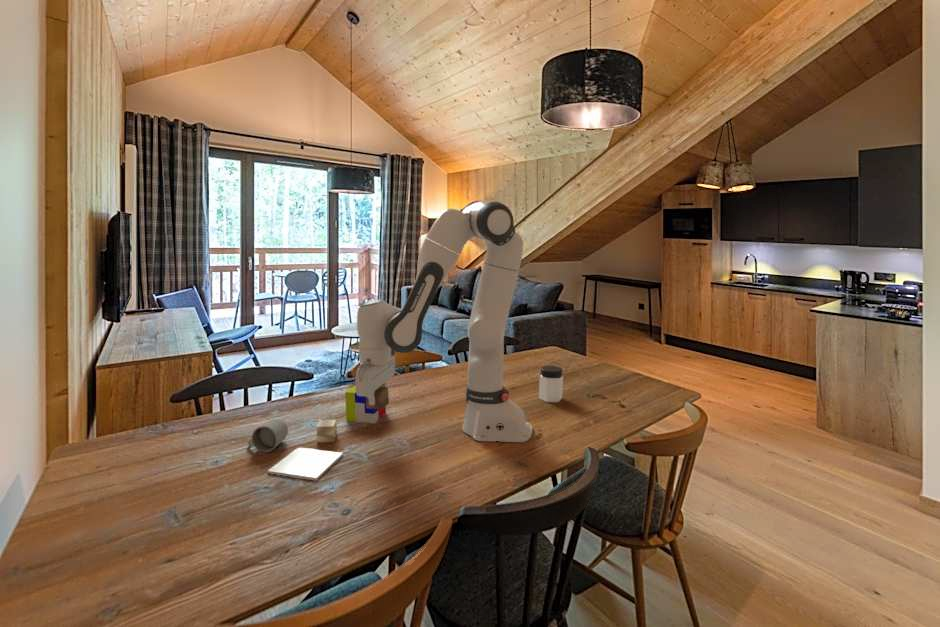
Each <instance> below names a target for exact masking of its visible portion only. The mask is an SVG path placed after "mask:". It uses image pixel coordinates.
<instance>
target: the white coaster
mask: <svg viewBox="0 0 940 627" xmlns="http://www.w3.org/2000/svg"><path fill="white" fill-rule="evenodd" d="M343 456H344V453H343V452H340V451H338V452H337V451H331V450H330V451H329V450H324V449H323V450H322V449H315V448H308V447H299V446H298V447H296V448H295V449H294V450H293V451H292V452H290V453H289V454H287V455H286V456H285V457H283V459H281V460H280V461H278V462H277V463H275V464H274V465H273V466H272V467H270V469H268V470H267V474H268V473H270V474H269V475H273V474H276V475H275V476H280V475H282V476H281V477H287V476H289V478H295V479H300V480H301V479H302V480H307V481H308V480H309V481H314V482H315V481H318V480H319V479H320V478H321V477H322V476H323V475H324V474H325V473H326V472H328V471H329V469H331V467H333V466H334V465H335V464H336V463H337V462H338V461H339V460H340V459H341V458H343Z"/></svg>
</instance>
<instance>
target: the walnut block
mask: <svg viewBox="0 0 940 627" xmlns="http://www.w3.org/2000/svg"><path fill="white" fill-rule="evenodd" d="M374 396H375V398H376V401H377V403H376V404H375V405H369V399H368V397H367V396H366V408H368V409H383V408H384V407H385V406H386V407H387V405H389V404H390V401H389V388H388V387H387V386H386V387H379V388H378V389H377V390H375V394H374Z"/></svg>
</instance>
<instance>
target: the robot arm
mask: <svg viewBox="0 0 940 627" xmlns="http://www.w3.org/2000/svg"><path fill="white" fill-rule="evenodd" d="M514 223H515V221H514V217H513V213H512V211H511V210H510V208H509V207H508V206H507V205H506V204H504V203H502V202H499V201H494V200H489V199H485V200H475V201H472V202H470V203H468V204H467V205H466V206H464V207H463V208H461V209H460V210H458V209H456V208H447V209H444V210H443V211H441V212H440V214H439V215H438V217H436V219H435V221H434V222H433V224H432V225H431V227H430V228H429V230H428V232H427V234H426V236H425V238H424V240H423V243H422V244H421V248H420V251H419V254H418V259H417V263H416V264H417V265H416V266H417V268H416V269H417V270H416V276H415V281H414V283H413V286H412V288H411V290H410V293H409V295H408V297H407V298H406V301H405V303H404V305H403V308H400V307H397V306H394V305H392V304H390V303H388V302H386V301H385V300H384V299H374V300H368V301H366V302H364V303H362V304H361V305H359V307H358V309H357V315H356V328H357V334H358V337H359V342H358V356H359V357H358V358H359V363H360V364H359V368H357V370H356V373H355V380H354V381H355V383H354V386H355V387H356V394H357V395H358V396H367V397H368V399H369V405H375V404H376V403H377V401H376V398H375V396H374V394H375V390H377V389H378V388H379V387H387V385H388V381H389V380H391V379H392V378H393V377H394V376H395V372H396V358H395V355H396V353H401V354H403V353H404V354H405V353H410V352H412V351H414V350H416V349H417V348H418V346H419V345H420V344H421V342H422V338H423V322H424V319H425V317H426V315H427V313H428V311H429V308H430V306H431V304H432V302H433V300H434V297H435V295H436V294H437V291H438V289H439V288H440V287H441V285H442V284H443V282H444V281H445V280H446V278H447V277H448V275H449V274H450V272H451V271H452V270H453V268H454V267H455V265H456V263H457V261H458V260H459V258H460V256H461V254H462V251H463V250H464V247H465V246H466V244H467V243H468V241H470V240H471V239H472V238H478V239H482V240H484V241H485V245H486V249H485V250H486V251H485V255H484V259H483V264H482V267H481V271H480V277H479V281H478V284H477V290H476V294H475V297H474V300H473V305H472V309H471V312H470V317H469V321H468V325H467V329H466V330H467V331H466V332H467V336H468V341H469V343H468V344H469V346H468V347H469V348H468V362H467V366H468V367H467V386H466V388H465V401H466V410H465V414H464V420H463V424H462V426H461V429H462V431H463V433H465V434H467V435H468V436H470V437H471V438H472V439H473V440H475V441H476V440H477V442H496V441H499V442H501V443H502V442H504V443H505V442H506V443H525V442H527V441H529V440H530V439H531V438H532V436H533V431H534V430H533V425H532V424H531V423H530V422H528V421H527V420H526V415H525V411H524V410H523V409H522V407H520V406H518V405H517V404H516V403H515V402H514V401H512V400H511V399H510V396H509V395H510V391H509V390H510V389H509V387H507V388H506V387H504V386H503V383H504V351H505V350H504V348H505V346H504V344H505V332H506V328H507V327H506V326H507V324H508V319H509V315H510V310H511V307H512V302H513V297H514V292H515V289H516V285H517V280H518V277H519V273H520V269H521V264H522V258H523V247H524V240H523V238H522V236H521V235H520V234H519V233H518V232H517V231H516V229H515V224H514ZM499 442H498V443H499Z"/></svg>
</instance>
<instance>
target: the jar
mask: <svg viewBox="0 0 940 627" xmlns="http://www.w3.org/2000/svg"><path fill="white" fill-rule="evenodd" d="M563 383H564V373H563V368H562V367H560V366H558V365H557V366H556V365H544V366H541V368H540V374H539V384H538V399H539V400H541V401H544V402H545V403H560V401H561V400H562V399H563V388H564V387H563V386H564V384H563Z"/></svg>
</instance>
